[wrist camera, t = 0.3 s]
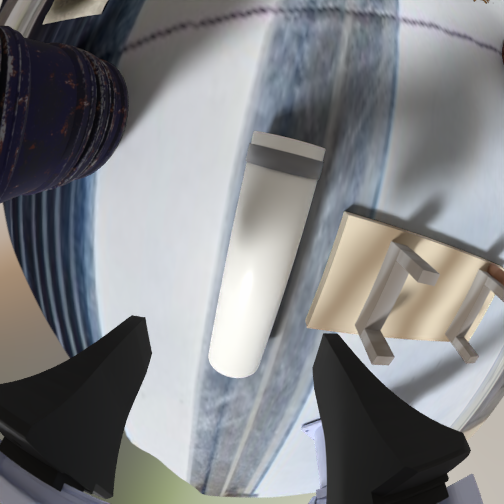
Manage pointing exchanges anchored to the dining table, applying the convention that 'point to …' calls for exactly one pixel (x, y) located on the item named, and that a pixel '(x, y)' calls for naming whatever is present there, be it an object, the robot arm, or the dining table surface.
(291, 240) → the tube
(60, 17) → the condiment
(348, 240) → the tube stand
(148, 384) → the dining table surface
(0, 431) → the robot arm
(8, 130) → the storage jar
